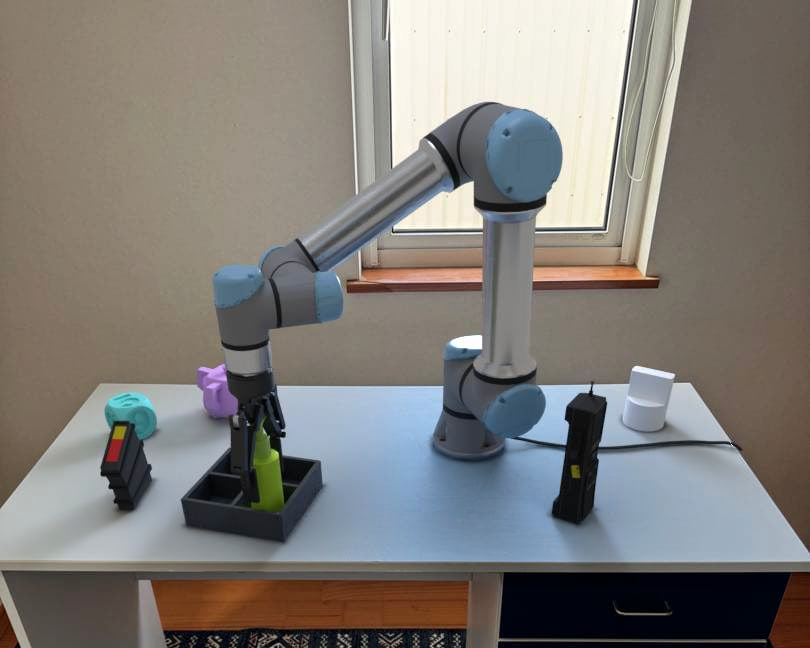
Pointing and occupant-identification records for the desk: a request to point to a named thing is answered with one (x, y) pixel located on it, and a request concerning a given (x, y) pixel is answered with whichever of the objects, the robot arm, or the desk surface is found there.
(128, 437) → the black ridged block
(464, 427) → the robot arm
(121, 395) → the decorative dice
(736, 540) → the desk surface
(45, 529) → the desk surface
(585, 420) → the portable radio
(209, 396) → the pot
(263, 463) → the soap dispenser
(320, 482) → the rack
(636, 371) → the cylinder with rectangular tab
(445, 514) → the desk surface
